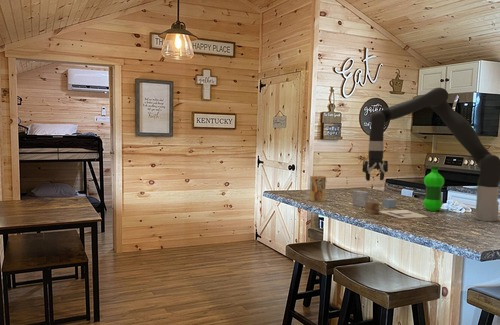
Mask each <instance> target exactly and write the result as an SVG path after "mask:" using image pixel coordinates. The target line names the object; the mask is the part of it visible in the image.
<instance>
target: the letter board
mask: <svg viewBox="0 0 500 325" xmlns="http://www.w3.org/2000/svg"><path fill="white" fill-rule="evenodd" d="M379 213H382V214H385V215H388V216H392V217H395V218H397V219H413V218H427V217H429V216H428V215H425V214H421V213H418V212H413V211H410V210H407V209H400V210H396V209H395V210H379Z"/></svg>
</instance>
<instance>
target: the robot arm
mask: <svg viewBox="0 0 500 325" xmlns="http://www.w3.org/2000/svg"><path fill="white" fill-rule="evenodd" d="M448 98H449V92H448V91H447V90H446V89H445V88H443V87H435V88H433V89H431V90H430V91H428V92H426V93H424V94H423V95H420V96H418V97H415V98H412V99H409V100H406V101H402V102H400V103H397V104H395V105H394V104H393V105H390V106H389V107H387V108H383V109H381V110H380V109H379V110H376V111H374V112H372V113H371V114H370V115H369V122H370V125H371V126H370V132H369V138H368V139H369V141H368V151H367V152H368V155H367V158H368V161H367V160H363V162H362V172H363V173H365V180H366V181H367V182H369V181H371V172H372V171H373V170H378V171H379V180H380V181H384V180H385V173H388V172H389V171H388V170H389V165H388V164H389V162H388V160H383V159H384V150H385V149H384V131H385V126H386V123H387V122H388V121H389V122H390V121H394V120H396V119H399V118H403V117H405V116H408V115H410V114H413V113H415V112H417V111H419V110H422V109H424V108H425V109H426V108H429V107H430V108H431V109H432V111H433V112H434V113H436V115H437V116H439V117H440V119H441V121H442V122H443V123H444V125H446V128H448V130H449V131H450V133H451V134H452V135H453V136H454V138H455V139H456V140H457V141H458V143H460V144H461V146H462V147H463V148H464V149H466V151H467V152H468V153H469V154H470V156H471V157H472V159H473V160H474V162H475V164H476V166H477V167H478V169H480V170H479V171H480V172H479V178H478V180H477V187H476V188H477V189H476V204H475V205H476V206H475V218H474V219H475V220H478V221H482V222H497V221H498V219H499V218H498V217H499V207H500V206H499V201H498V199H499V185H500V157H498V156H497V155H495V154H492V153H491V152H490V151H488V149H487V148H486V147H485V146H484V144H483V143H482V141H481V140H480V138H479V135H478V134H477V132H476V130H475V129H474V128H473V126H472V125H471V123H470V122H468V120H467V119H466V118H465V117H464V116H462V115H461V114H460V113H458V112H457V111H456V110H454V108H452V106H451V105H450V104H449V102H448Z"/></svg>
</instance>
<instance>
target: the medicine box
mask: <svg viewBox="0 0 500 325" xmlns="http://www.w3.org/2000/svg"><path fill="white" fill-rule="evenodd" d="M369 193H370V192H368V191H364V190H363V191H362V190H354V191H352V206H354V207H361V208H365V204H366V202H369Z"/></svg>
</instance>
